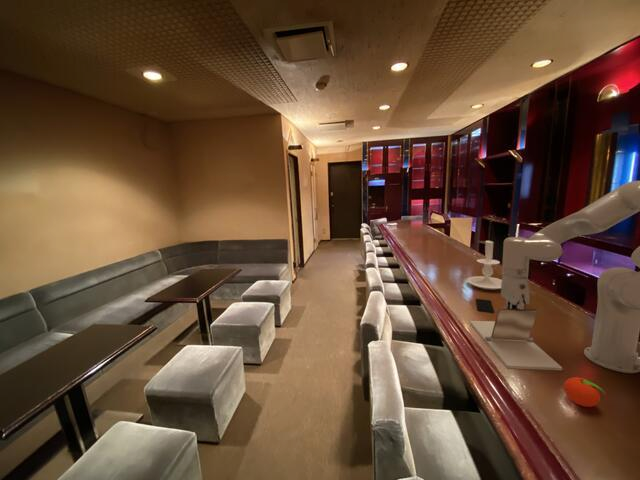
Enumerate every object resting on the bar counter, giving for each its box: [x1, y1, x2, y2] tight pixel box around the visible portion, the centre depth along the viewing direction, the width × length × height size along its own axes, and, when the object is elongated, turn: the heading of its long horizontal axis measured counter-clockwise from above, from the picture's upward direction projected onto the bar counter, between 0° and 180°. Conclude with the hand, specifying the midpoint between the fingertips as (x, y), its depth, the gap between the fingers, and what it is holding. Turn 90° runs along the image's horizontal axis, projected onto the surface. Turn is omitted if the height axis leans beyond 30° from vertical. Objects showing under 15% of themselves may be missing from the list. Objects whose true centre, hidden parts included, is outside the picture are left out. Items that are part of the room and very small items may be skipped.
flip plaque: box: [491, 308, 539, 340], centre depth 96 cm, size 14×12×1 cm
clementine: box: [563, 376, 607, 408], centre depth 70 cm, size 8×7×7 cm
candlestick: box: [466, 240, 502, 291], centre depth 151 cm, size 21×25×28 cm
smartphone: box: [475, 298, 495, 314], centre depth 130 cm, size 7×1×15 cm
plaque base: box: [469, 320, 563, 372], centre depth 99 cm, size 30×16×2 cm, turn 172°
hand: (512, 318), depth 97 cm, fingers closed
